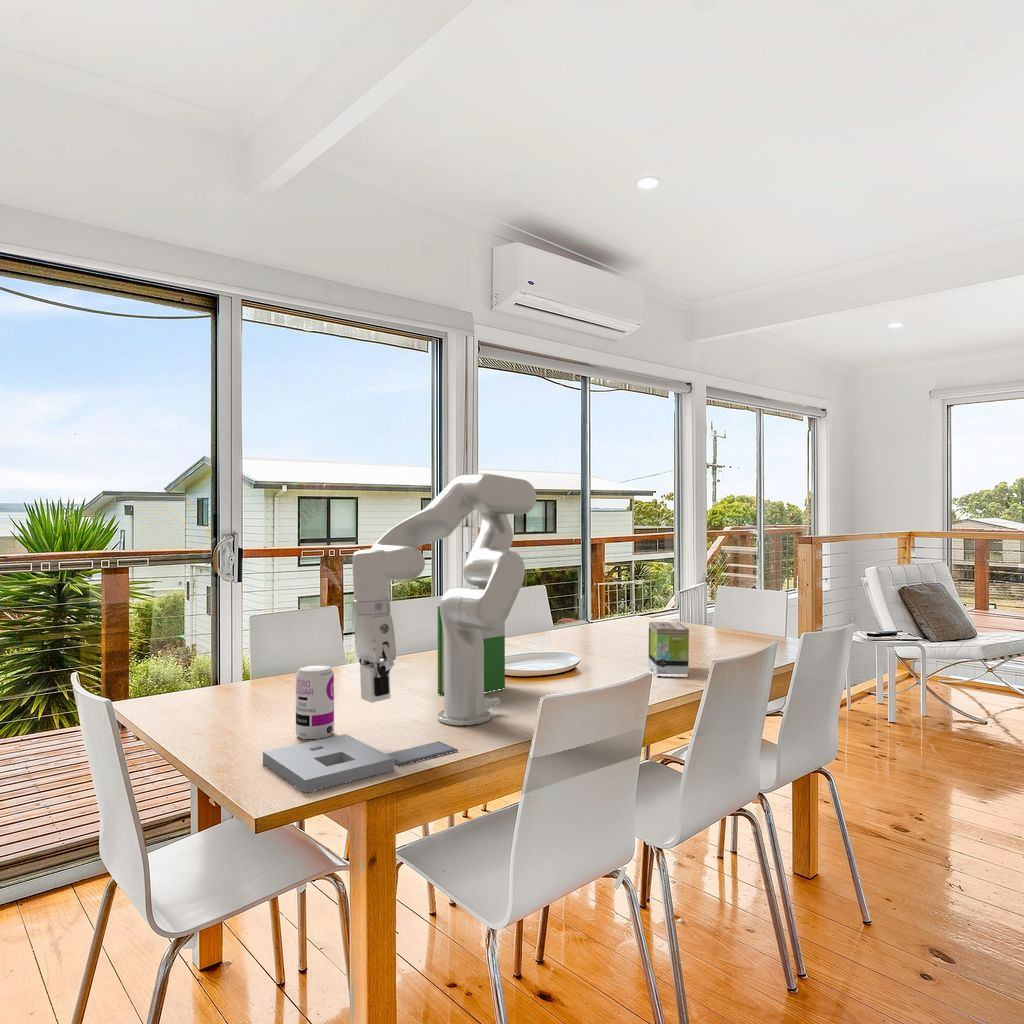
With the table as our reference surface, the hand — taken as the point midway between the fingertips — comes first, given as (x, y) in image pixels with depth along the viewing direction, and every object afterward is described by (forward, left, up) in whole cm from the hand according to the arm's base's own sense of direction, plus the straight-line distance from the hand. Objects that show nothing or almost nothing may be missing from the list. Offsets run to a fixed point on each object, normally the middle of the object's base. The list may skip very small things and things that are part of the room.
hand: (375, 691), depth 158 cm
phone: (-4, +11, -12) cm, 17 cm away
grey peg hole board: (+14, +6, -11) cm, 19 cm away
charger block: (0, 0, -1) cm, 1 cm away
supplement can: (+7, -15, -12) cm, 20 cm away
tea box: (-104, -5, -12) cm, 105 cm away
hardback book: (-43, -24, -12) cm, 51 cm away
